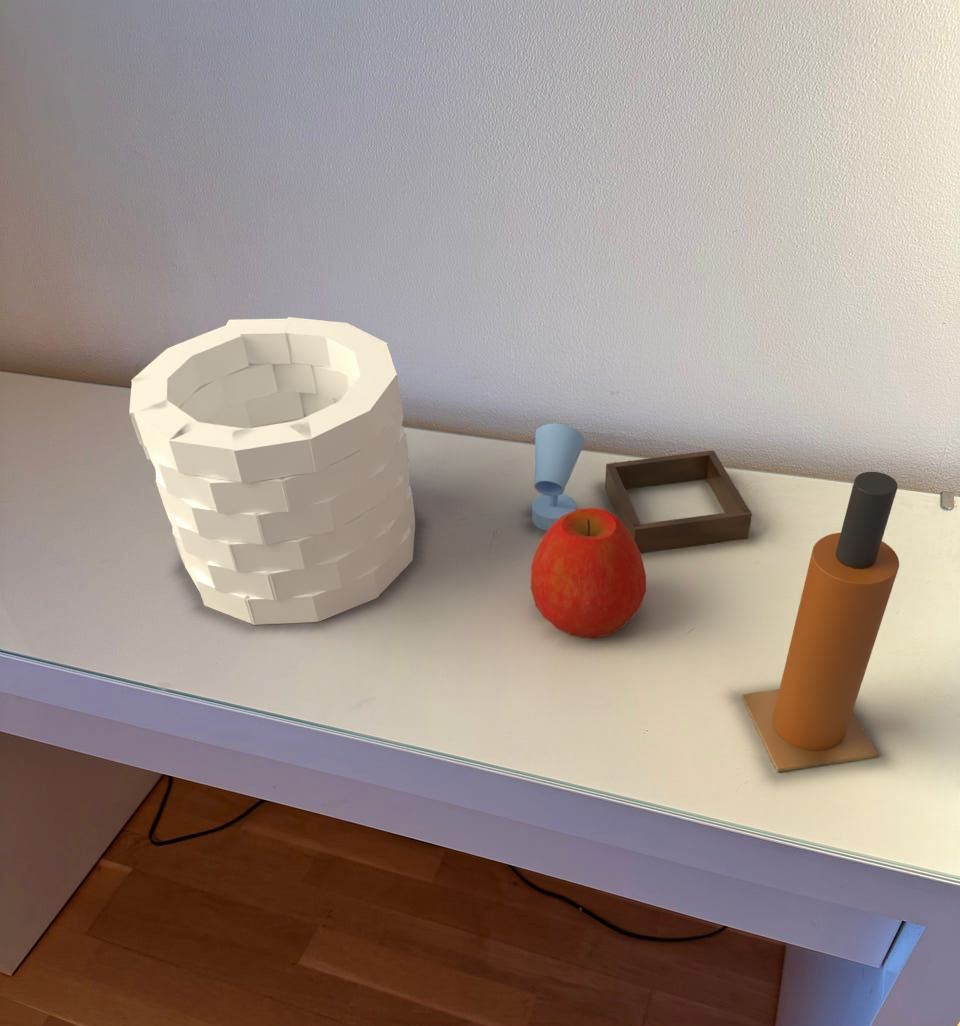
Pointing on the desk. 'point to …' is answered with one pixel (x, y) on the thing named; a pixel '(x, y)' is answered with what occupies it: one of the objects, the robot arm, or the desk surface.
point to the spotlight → (554, 472)
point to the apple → (588, 574)
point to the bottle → (838, 620)
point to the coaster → (797, 758)
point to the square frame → (686, 529)
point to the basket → (280, 465)
